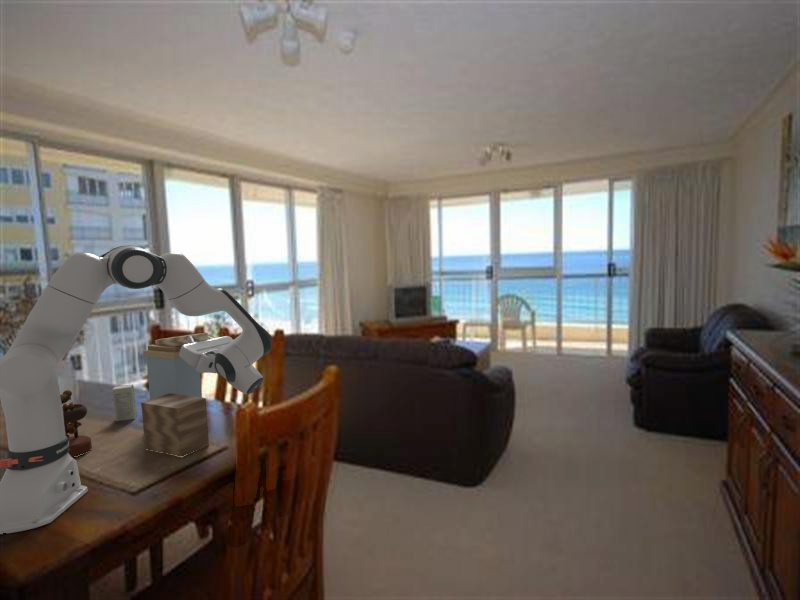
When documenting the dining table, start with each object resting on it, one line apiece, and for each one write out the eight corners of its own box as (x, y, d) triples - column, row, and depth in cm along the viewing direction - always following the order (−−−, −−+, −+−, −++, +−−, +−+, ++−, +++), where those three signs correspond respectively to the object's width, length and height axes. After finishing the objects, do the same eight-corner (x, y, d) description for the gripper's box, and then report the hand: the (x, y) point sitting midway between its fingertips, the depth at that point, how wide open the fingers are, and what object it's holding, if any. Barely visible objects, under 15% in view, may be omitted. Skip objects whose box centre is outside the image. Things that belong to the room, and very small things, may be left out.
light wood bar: (208, 341, 157) (207, 332, 157) (200, 343, 154) (199, 334, 154) (165, 346, 166) (163, 338, 166) (156, 348, 163) (155, 340, 163)
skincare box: (137, 415, 175) (134, 383, 173) (134, 419, 171) (131, 386, 169) (117, 417, 173) (114, 385, 171) (114, 421, 169) (111, 389, 167)
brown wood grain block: (209, 445, 145) (205, 398, 143) (181, 458, 136) (177, 408, 134) (173, 437, 152) (169, 393, 150) (145, 449, 143) (141, 402, 141)
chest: (206, 420, 167) (200, 342, 164) (179, 431, 157) (173, 348, 154) (176, 415, 173) (170, 340, 170) (150, 425, 163) (143, 346, 160)
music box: (83, 459, 137) (69, 394, 134) (41, 467, 134) (26, 401, 132) (103, 439, 152) (91, 380, 149) (65, 446, 149) (52, 387, 147)
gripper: (248, 345, 161) (221, 324, 165) (200, 357, 142) (172, 333, 147) (242, 360, 163) (216, 339, 167) (194, 374, 144) (166, 349, 149)
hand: (195, 336), depth 157 cm, fingers closed on light wood bar, 3 cm apart
